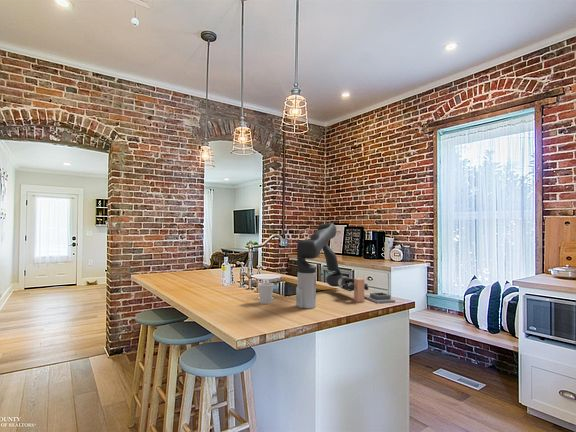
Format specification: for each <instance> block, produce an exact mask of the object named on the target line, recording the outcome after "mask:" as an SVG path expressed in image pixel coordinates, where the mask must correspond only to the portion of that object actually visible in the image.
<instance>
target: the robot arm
mask: <svg viewBox="0 0 576 432" xmlns="http://www.w3.org/2000/svg"><path fill="white" fill-rule="evenodd" d="M336 235H337V226H336V224H334V222H333V223H332V222H328V223H321V224H318V225H317V230H316V231H314V232H313V234H311V236H310V238H309V239H308V240H307V239H306V240H305V239H301V240H300V239H299V240H298V242H297V245H296V267H297V286H296V288H295V306H296V307H297V308H299V309H314V308H316V305H317V297H316V296H317V294H316V293H317V292H316V291H317V289H316V287H317V268H316V265H313V264H311V263H309V262H308V261H307V260H308V259H309V260H310V259H312V260H313V259H317V258H318V257H319V255H320V253H321V252H322V251H323V254H324V259H325V263H326V268H327V271H329V272H334V273H331V274H328V275H327V277H326V284H328V286H330V287H333V288H334V287H339V288H340V289H343V290H344V291H348V292H354V278H352V277H348V276H345V275H343V273H342V272H341V270H340V267H339V263H338V258H337V255H336V253H335V252H334V251H333V250H332V248H331V247H330V246H329V245H328V242H329V241H331V239H333V238H335V237H336ZM306 259H307V260H306ZM368 290H369V285H368V283H366V282H364V291H368Z"/></svg>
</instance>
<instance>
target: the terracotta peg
mask: <svg viewBox="0 0 576 432" xmlns="http://www.w3.org/2000/svg"><path fill="white" fill-rule="evenodd" d="M353 279H354V291H353V301H354V302H357V303H364V302H365V298H364V296H365V289H364V283H365V278H362V277H356V278H353Z"/></svg>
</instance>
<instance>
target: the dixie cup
mask: <svg viewBox="0 0 576 432" xmlns="http://www.w3.org/2000/svg"><path fill="white" fill-rule="evenodd" d="M257 285H258V292H259V293H258V294H259V301H260V304H261V305H270V304H271V303H272V300H273V299H272V297H273V291H274V286H275V285H274V282H269V281H267V282H264V281H263V282H259V283H257Z"/></svg>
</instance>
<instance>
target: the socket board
mask: <svg viewBox="0 0 576 432" xmlns="http://www.w3.org/2000/svg"><path fill="white" fill-rule="evenodd" d="M391 297H392V296H391V294H387V293H385V292H369V295H364V300H365V299H366V300H368V301H371V302H373V303H375V304H388V303H396V300H395V299H392V298H391Z"/></svg>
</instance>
